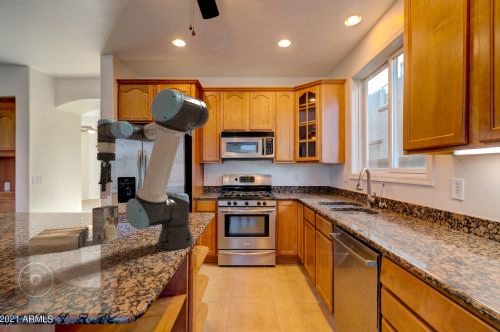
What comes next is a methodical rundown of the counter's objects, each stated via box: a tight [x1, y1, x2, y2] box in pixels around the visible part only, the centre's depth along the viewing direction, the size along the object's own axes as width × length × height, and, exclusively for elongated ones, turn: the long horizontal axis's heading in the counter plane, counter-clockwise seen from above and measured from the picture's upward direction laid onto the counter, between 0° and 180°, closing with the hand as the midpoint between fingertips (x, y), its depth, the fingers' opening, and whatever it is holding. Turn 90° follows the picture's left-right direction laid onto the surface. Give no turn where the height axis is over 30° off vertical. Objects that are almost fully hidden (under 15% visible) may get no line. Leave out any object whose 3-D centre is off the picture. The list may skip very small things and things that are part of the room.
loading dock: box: [27, 225, 90, 256], centre depth 104 cm, size 18×17×6 cm
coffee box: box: [91, 205, 119, 245], centre depth 111 cm, size 9×6×16 cm
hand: (105, 197), depth 112 cm, fingers open, 13 cm apart
